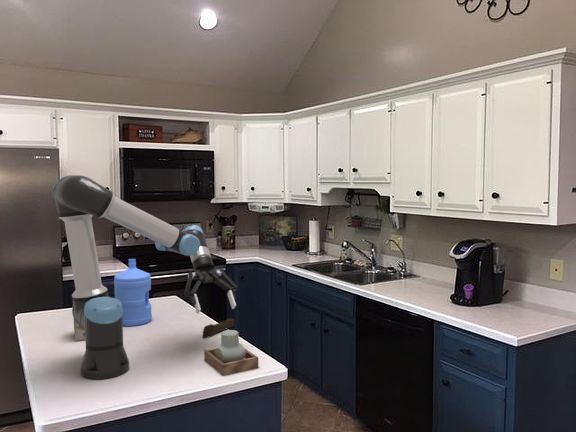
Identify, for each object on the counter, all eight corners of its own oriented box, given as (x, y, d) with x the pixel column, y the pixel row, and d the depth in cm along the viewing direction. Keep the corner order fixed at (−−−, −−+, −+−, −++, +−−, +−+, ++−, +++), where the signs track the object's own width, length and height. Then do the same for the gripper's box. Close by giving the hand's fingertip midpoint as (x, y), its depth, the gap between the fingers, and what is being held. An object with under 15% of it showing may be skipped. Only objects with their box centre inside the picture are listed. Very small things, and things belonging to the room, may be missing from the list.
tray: (222, 375, 160) (222, 365, 159) (204, 360, 173) (204, 350, 173) (258, 367, 166) (258, 357, 166) (238, 353, 180) (238, 343, 180)
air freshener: (248, 363, 167) (248, 334, 166) (225, 368, 163) (225, 338, 162) (234, 354, 177) (233, 326, 176) (212, 358, 172) (212, 330, 171)
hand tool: (228, 326, 215) (228, 315, 214) (235, 327, 212) (235, 316, 212) (198, 337, 199) (197, 326, 198) (205, 339, 197) (205, 328, 196)
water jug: (124, 329, 210) (122, 263, 208) (109, 321, 221) (107, 259, 219) (158, 322, 220) (156, 259, 218) (142, 314, 232) (141, 255, 230)
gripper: (229, 264, 198) (244, 310, 187) (167, 269, 186) (180, 319, 174) (234, 253, 193) (251, 299, 182) (172, 257, 181) (185, 308, 169)
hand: (216, 309), depth 178 cm, fingers open, 13 cm apart
